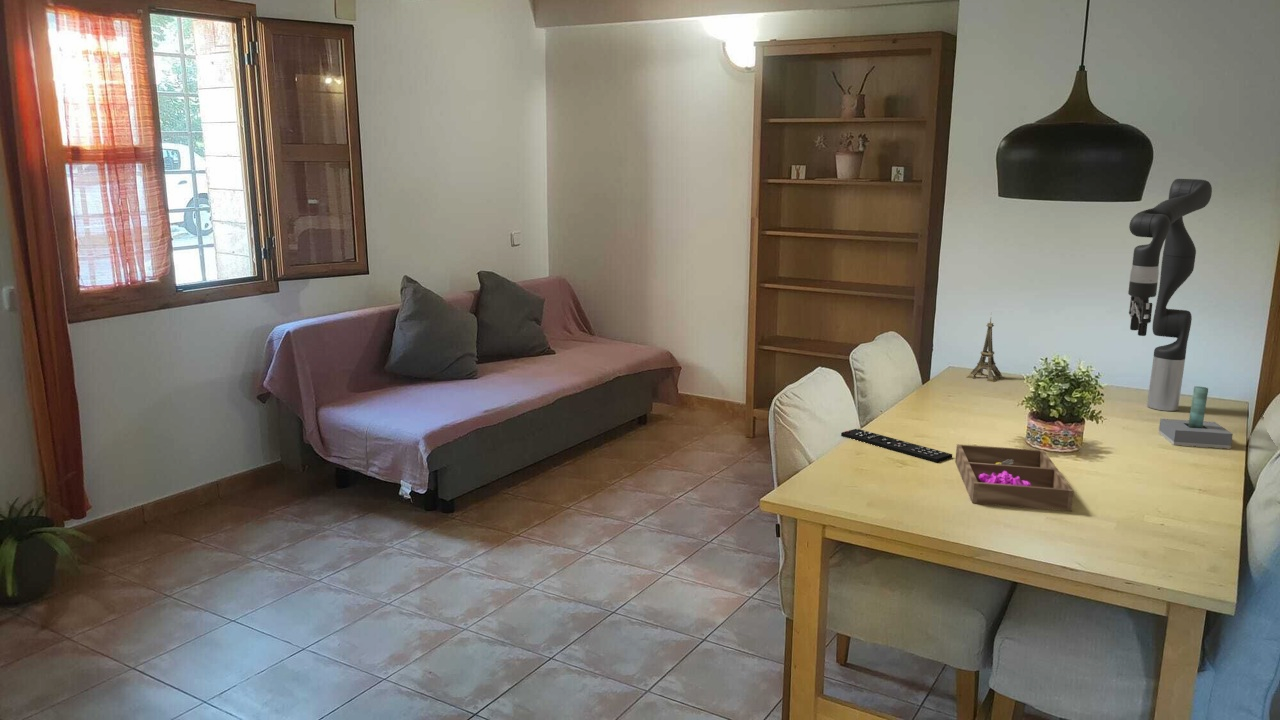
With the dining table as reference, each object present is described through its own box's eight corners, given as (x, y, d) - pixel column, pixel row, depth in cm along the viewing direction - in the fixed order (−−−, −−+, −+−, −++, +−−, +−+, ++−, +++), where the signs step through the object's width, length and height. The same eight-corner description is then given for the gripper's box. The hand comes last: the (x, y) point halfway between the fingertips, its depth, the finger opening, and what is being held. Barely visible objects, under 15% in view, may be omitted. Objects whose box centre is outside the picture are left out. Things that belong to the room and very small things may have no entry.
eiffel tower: (966, 377, 354) (972, 312, 349) (976, 373, 362) (982, 309, 357) (994, 382, 347) (1000, 315, 342) (1004, 377, 355) (1010, 312, 350)
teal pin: (1184, 435, 278) (1192, 386, 275) (1197, 436, 277) (1205, 386, 274) (1189, 438, 274) (1196, 388, 271) (1202, 439, 274) (1210, 389, 271)
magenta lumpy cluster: (976, 501, 223) (979, 474, 222) (977, 488, 232) (980, 463, 231) (1030, 509, 219) (1033, 482, 218) (1029, 496, 228) (1032, 470, 227)
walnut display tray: (955, 461, 252) (956, 444, 251) (1041, 468, 248) (1043, 450, 247) (972, 503, 222) (974, 483, 221) (1071, 511, 217) (1073, 490, 216)
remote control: (856, 433, 280) (856, 426, 280) (951, 459, 256) (952, 452, 256) (840, 437, 275) (840, 431, 275) (936, 464, 251) (936, 457, 251)
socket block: (1158, 432, 284) (1160, 418, 283) (1212, 436, 281) (1214, 421, 280) (1173, 445, 271) (1175, 430, 270) (1230, 449, 268) (1232, 433, 268)
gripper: (1164, 284, 275) (1158, 338, 279) (1150, 277, 289) (1144, 328, 293) (1136, 283, 277) (1130, 337, 281) (1123, 276, 290) (1118, 327, 294)
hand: (1137, 332), depth 287 cm, fingers open, 8 cm apart
